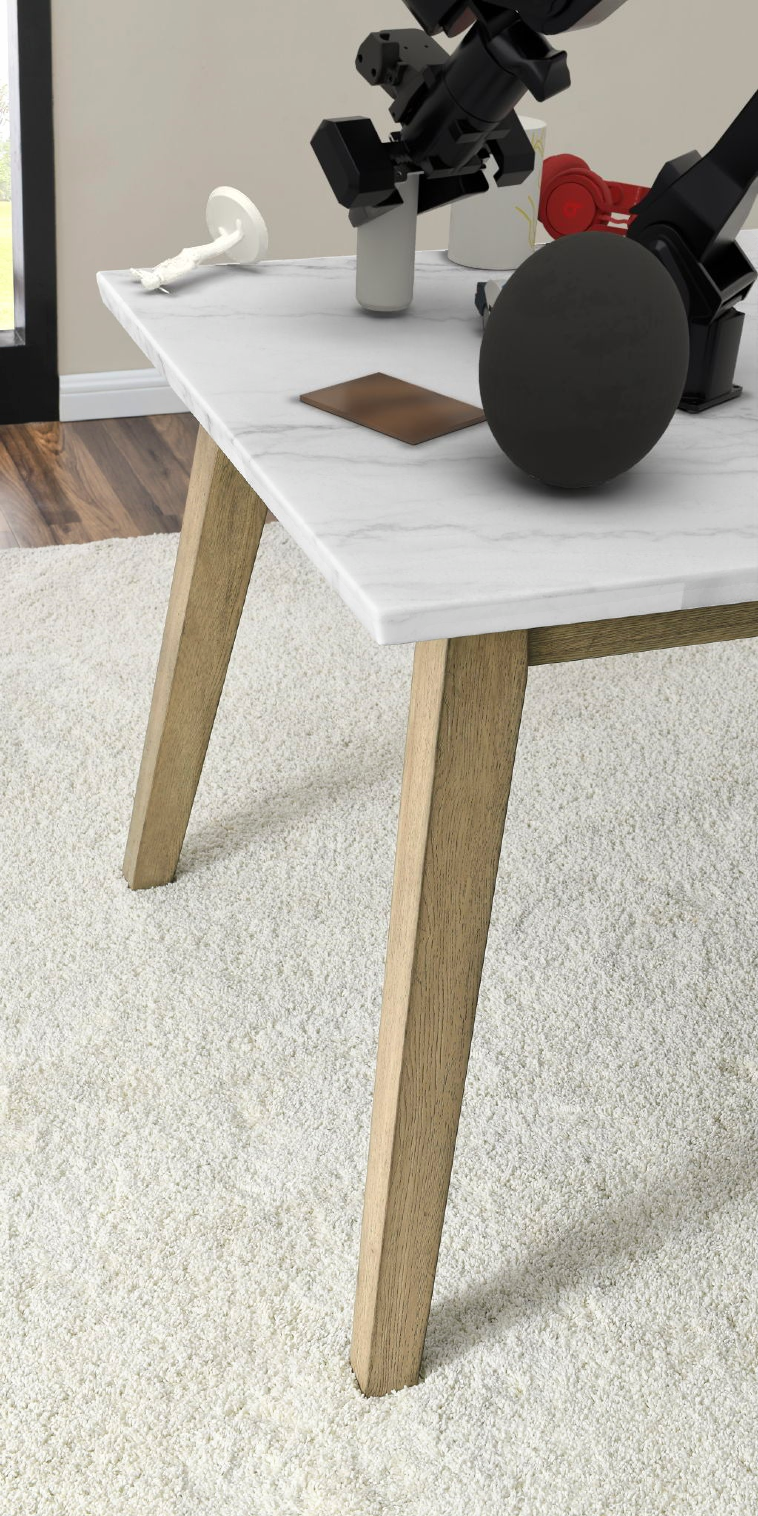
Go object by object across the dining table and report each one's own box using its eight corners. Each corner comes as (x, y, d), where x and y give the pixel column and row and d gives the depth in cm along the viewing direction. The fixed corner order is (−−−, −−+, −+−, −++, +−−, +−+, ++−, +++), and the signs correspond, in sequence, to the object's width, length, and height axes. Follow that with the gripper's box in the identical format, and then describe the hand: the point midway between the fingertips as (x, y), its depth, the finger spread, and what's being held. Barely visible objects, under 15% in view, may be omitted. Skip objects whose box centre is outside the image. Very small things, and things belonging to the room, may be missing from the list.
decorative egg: (486, 435, 94) (507, 200, 86) (672, 458, 92) (712, 219, 84) (453, 506, 84) (473, 247, 76) (661, 533, 82) (704, 271, 74)
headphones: (530, 141, 144) (715, 175, 147) (514, 213, 148) (695, 244, 151) (556, 170, 131) (757, 206, 135) (538, 248, 135) (734, 281, 138)
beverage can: (347, 308, 115) (350, 152, 109) (365, 294, 119) (369, 142, 113) (404, 315, 114) (410, 157, 108) (420, 300, 118) (427, 147, 112)
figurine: (245, 179, 120) (148, 243, 114) (280, 258, 124) (188, 324, 118) (195, 193, 125) (100, 255, 119) (230, 269, 129) (140, 332, 123)
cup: (536, 271, 130) (550, 131, 124) (448, 267, 130) (457, 127, 124) (530, 249, 137) (543, 115, 130) (446, 245, 137) (455, 111, 130)
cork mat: (492, 417, 97) (493, 412, 97) (413, 445, 92) (413, 439, 92) (378, 377, 103) (379, 371, 103) (299, 400, 99) (299, 394, 98)
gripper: (523, -14, 107) (422, 122, 120) (326, -6, 97) (240, 141, 110) (586, 115, 106) (478, 237, 119) (395, 136, 96) (299, 267, 109)
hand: (376, 218), depth 114 cm, fingers closed on beverage can, 5 cm apart
